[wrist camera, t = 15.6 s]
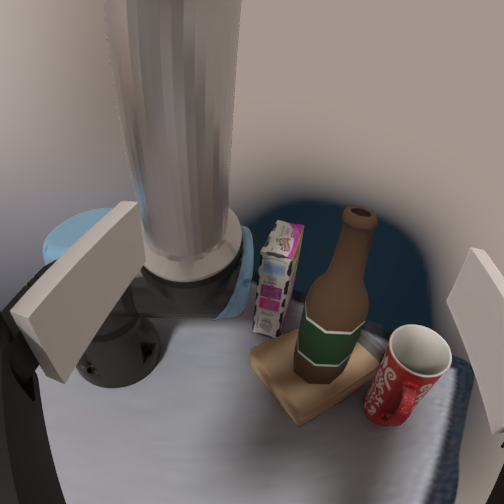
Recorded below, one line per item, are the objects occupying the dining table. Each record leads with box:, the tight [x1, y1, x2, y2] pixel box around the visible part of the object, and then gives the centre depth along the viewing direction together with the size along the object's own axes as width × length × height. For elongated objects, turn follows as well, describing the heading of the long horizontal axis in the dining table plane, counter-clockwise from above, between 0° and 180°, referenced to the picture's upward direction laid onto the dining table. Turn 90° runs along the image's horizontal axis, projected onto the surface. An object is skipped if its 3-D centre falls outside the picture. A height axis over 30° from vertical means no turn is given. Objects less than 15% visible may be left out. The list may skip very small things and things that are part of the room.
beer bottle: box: [294, 206, 377, 384], centre depth 36 cm, size 8×8×24 cm
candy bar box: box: [252, 220, 304, 338], centre depth 53 cm, size 11×5×16 cm, turn 163°
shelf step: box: [250, 328, 386, 427], centre depth 45 cm, size 13×16×6 cm
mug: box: [363, 324, 452, 426], centre depth 36 cm, size 13×9×14 cm
